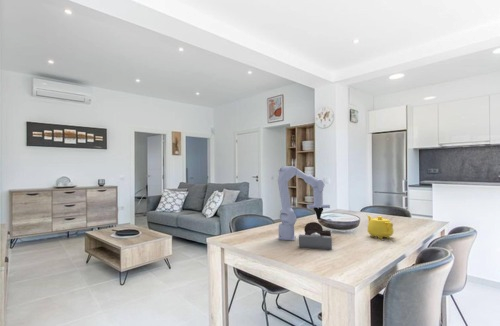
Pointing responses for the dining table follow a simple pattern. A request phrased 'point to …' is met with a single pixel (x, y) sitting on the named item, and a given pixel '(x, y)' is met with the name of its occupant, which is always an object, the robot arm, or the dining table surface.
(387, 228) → the teapot
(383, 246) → the dining table surface
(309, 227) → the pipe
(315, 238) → the block
